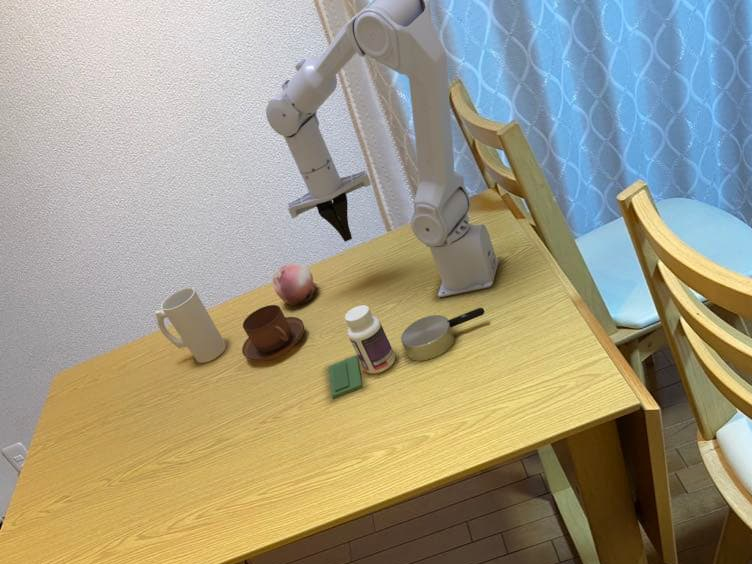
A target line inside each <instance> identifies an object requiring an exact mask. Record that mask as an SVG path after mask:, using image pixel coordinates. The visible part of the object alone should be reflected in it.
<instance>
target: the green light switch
mask: <svg viewBox="0 0 752 564" xmlns="http://www.w3.org/2000/svg"><path fill="white" fill-rule="evenodd" d="M328 371H329V380H330V391H331V397H332V399H333V400H334V399H337V398H339V397H342V396H343V395H346V394H349V393H352V392H355V391H357V390H360V389H362V388H363V381H362V374H361V367H360V359H359V357H358V355H357V354H356V355H354V356H353V355H352V356H350V357H348V358H346V359H344V360H340V361H338V362H335V363H332V364H331V365H328Z"/></svg>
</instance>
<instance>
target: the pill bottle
mask: <svg viewBox="0 0 752 564" xmlns="http://www.w3.org/2000/svg"><path fill="white" fill-rule="evenodd" d="M344 319H345V322H346V324H347V326H348V329H347V336H348V339H349V341H350V343H351V345H352V348H353V349H354V351H355V353H356V355H357V356H358V360H359V362H360V363H361V366H362V367H363V369H364V371H365V372H366V373H368V374H373V375H375V374H379V373H383V372H384V371H386V370H388V369H389V368H390V367H392V366H393V364H394V362H395V361H396V354H395V352H394V350H393V348H392V346H391V343H390V341H389V339H388V336H387V334H386V332H385V329H384V327H383V326H382V323H381V321H380V320H379V318H377V317H376V316H373V314H372V312H371V309H370V307H369V306H368V305H364V304H363V305H362V304H361V305H358V306H355V307H353V308H351V309H350V310H348V311H347V312H346V314H345V315H344Z"/></svg>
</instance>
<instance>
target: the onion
mask: <svg viewBox="0 0 752 564" xmlns="http://www.w3.org/2000/svg"><path fill="white" fill-rule="evenodd" d="M272 276H273V277H272V284H273V289H274V291H275V293H276V295H277V296H278V297H279V298H280V300H281V301H283V302H284V303H285V304H287V305H290V306H291V305H292V306H301V305H304V303H306V302H309V301H310V300H311V299H312V298H313V295H314V293H315V290H316V288H317V287H318V283H316V282H314V277H313V273H312V271H311V270H310V269H309V268H308V267H307V266H306V265H303V264H299V263H290V264H285V265H282V266H280V267H279V268H278V269H277V270H276V271H275V273H274V274H273V275H272Z"/></svg>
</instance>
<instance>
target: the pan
mask: <svg viewBox="0 0 752 564" xmlns="http://www.w3.org/2000/svg"><path fill="white" fill-rule="evenodd" d="M484 314H485V309H484V308H483V307H478V308H475V309H473V310H470V311H468V312H466V313H462V314H460V315H458V316H455V317H453V318H450V319H449V318H447V317H446V316H444V315H439V314H435V315H434V314H433V315H427V316H424V317H422V318H419V319H418V320H415V321H413V322H412V323H411V324H409V325H408V326H407V327H406V328H405V329H404V331H403V332H402V334H401V337H400V341H401V343H402V346H403V348H404V351H405V354H406V355H407V357H408V358H409V359H410V360H413V361H419V362H421V361H429V360H431V359H434V358H437V357H439V356H441V355H442V354H445V352H447V351H448V350H449V349H450V348H451V347H452V345H453V344H454V342H455V338H456V336H455V333H454V330H453V327H456V326H458V325H462V324H464V323H466V322H469V321H471V320H474V319H476V318H479V317H482V316H483V315H484Z"/></svg>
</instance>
